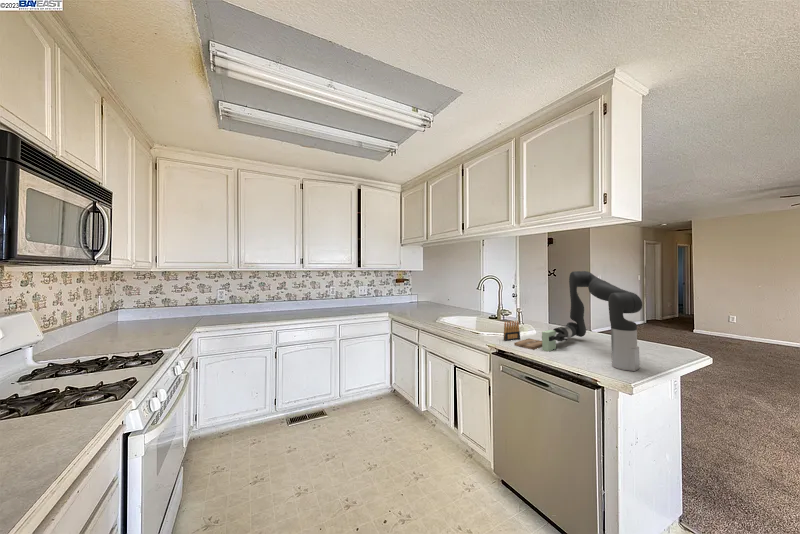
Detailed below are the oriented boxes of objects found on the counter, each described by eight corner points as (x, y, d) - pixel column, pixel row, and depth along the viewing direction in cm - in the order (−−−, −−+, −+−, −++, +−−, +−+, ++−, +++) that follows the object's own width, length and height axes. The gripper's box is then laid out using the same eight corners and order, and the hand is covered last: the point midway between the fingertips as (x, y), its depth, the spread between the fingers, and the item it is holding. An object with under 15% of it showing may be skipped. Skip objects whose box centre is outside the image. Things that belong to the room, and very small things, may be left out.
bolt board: (548, 344, 170) (548, 341, 170) (533, 349, 162) (533, 346, 162) (528, 340, 180) (528, 338, 180) (514, 345, 171) (514, 342, 171)
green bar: (555, 348, 162) (555, 330, 162) (548, 351, 158) (547, 332, 158) (550, 347, 165) (549, 329, 165) (542, 350, 160) (541, 331, 160)
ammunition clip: (518, 338, 186) (517, 319, 186) (520, 339, 184) (519, 320, 184) (503, 340, 183) (503, 321, 183) (505, 341, 181) (504, 321, 181)
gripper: (549, 325, 175) (533, 329, 165) (574, 328, 164) (559, 333, 154) (550, 337, 175) (533, 342, 165) (575, 342, 164) (559, 348, 154)
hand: (546, 338), depth 159 cm, fingers closed on green bar, 3 cm apart
